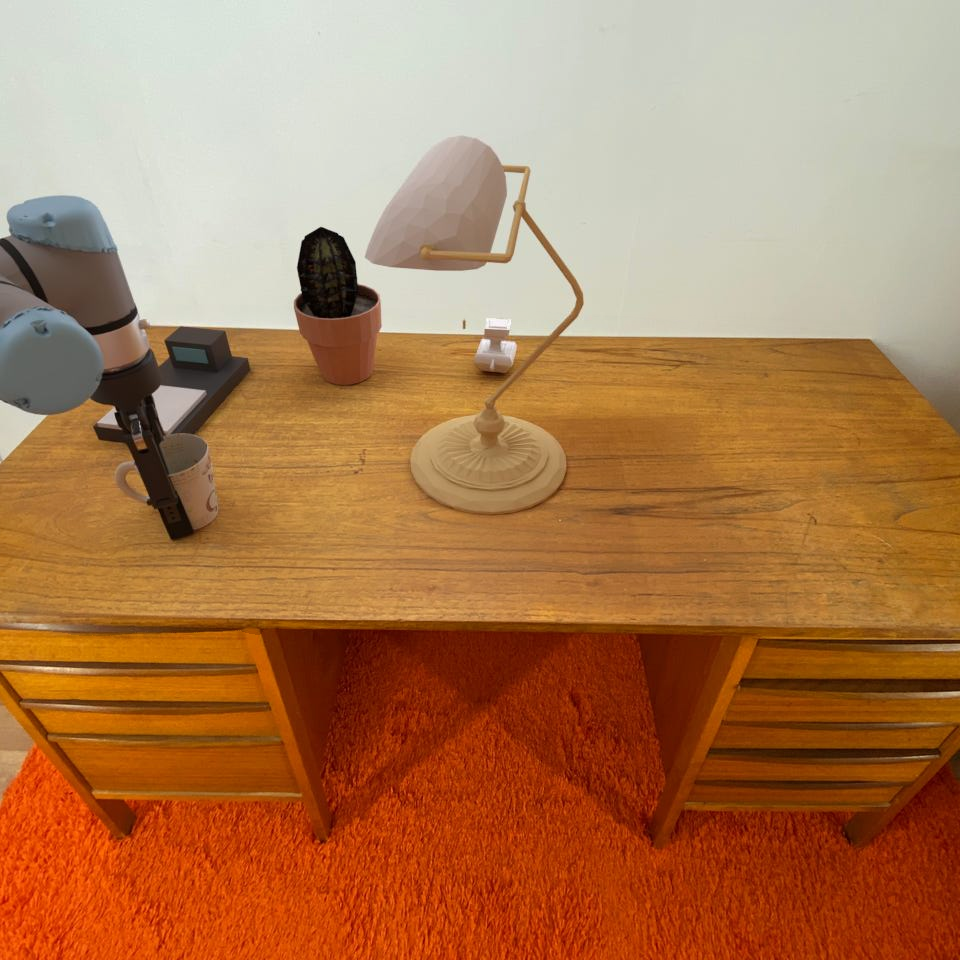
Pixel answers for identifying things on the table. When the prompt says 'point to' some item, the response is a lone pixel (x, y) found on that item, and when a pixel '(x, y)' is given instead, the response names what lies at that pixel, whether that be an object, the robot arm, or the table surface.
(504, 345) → the stamp
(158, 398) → the scale
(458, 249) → the desk lamp
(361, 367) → the potted plant
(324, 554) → the table surface
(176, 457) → the mug
